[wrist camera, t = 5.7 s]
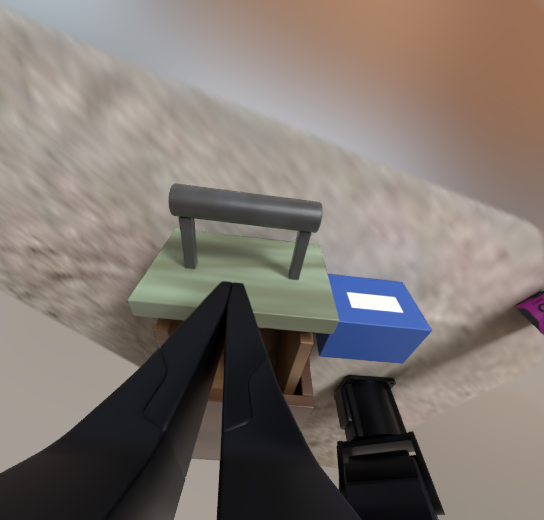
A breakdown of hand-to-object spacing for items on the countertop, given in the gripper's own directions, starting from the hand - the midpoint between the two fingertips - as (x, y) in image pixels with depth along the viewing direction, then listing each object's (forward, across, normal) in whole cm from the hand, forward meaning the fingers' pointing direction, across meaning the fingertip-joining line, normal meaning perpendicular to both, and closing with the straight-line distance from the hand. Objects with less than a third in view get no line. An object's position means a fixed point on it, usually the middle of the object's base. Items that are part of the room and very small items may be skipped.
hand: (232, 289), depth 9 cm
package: (+9, -10, +8) cm, 16 cm away
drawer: (+8, 0, +7) cm, 11 cm away
